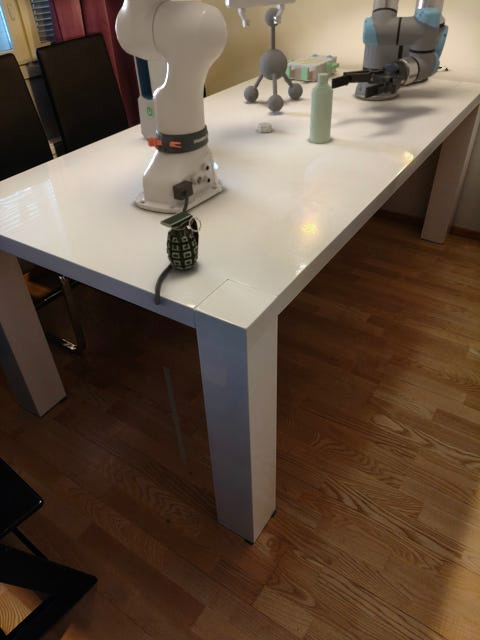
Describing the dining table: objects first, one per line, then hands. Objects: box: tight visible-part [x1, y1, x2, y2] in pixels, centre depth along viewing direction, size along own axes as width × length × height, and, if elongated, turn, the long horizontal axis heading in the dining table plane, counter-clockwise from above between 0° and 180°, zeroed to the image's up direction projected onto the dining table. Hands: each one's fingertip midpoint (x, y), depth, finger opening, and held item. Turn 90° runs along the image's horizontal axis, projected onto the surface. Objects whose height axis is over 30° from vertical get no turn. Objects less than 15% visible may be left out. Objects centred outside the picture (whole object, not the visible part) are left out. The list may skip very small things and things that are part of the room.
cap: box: [257, 122, 272, 133], centre depth 154 cm, size 4×4×2 cm
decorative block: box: [285, 53, 340, 82], centre depth 209 cm, size 26×6×20 cm
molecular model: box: [243, 6, 304, 113], centre depth 169 cm, size 24×22×30 cm
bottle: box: [309, 73, 334, 144], centre depth 139 cm, size 6×6×18 cm
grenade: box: [159, 211, 202, 271], centre depth 88 cm, size 7×6×10 cm
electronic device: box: [133, 56, 168, 140], centre depth 143 cm, size 12×8×30 cm, turn 47°
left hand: (261, 25), depth 137 cm, fingers open, 8 cm apart
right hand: (348, 88), depth 141 cm, fingers open, 13 cm apart
